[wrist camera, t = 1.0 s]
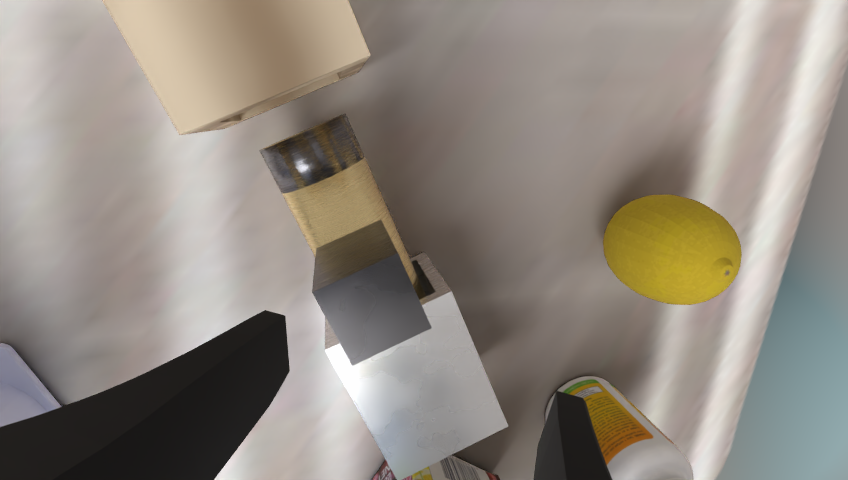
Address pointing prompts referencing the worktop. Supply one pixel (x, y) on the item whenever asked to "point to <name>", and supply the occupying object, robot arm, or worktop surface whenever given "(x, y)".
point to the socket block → (238, 53)
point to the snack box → (441, 471)
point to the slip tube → (349, 239)
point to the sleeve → (423, 385)
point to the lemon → (672, 249)
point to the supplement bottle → (627, 434)
